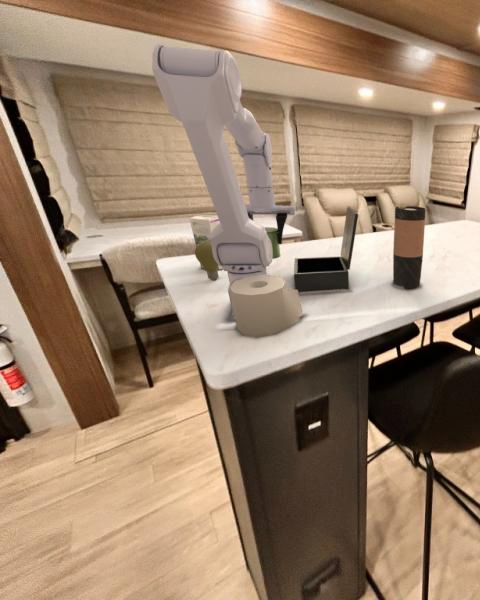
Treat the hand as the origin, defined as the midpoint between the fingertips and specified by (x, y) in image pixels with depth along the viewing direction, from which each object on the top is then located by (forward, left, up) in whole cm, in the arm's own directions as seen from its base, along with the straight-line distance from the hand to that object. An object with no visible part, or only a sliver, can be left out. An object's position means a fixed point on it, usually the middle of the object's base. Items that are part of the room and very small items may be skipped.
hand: (267, 243), depth 79 cm
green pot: (0, 0, -3) cm, 3 cm away
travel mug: (-11, -34, -10) cm, 37 cm away
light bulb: (+2, +15, -10) cm, 18 cm away
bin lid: (-6, -20, +3) cm, 21 cm away
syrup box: (+14, +17, -10) cm, 24 cm away
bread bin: (-6, -12, -10) cm, 17 cm away
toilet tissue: (-26, -2, -10) cm, 28 cm away
